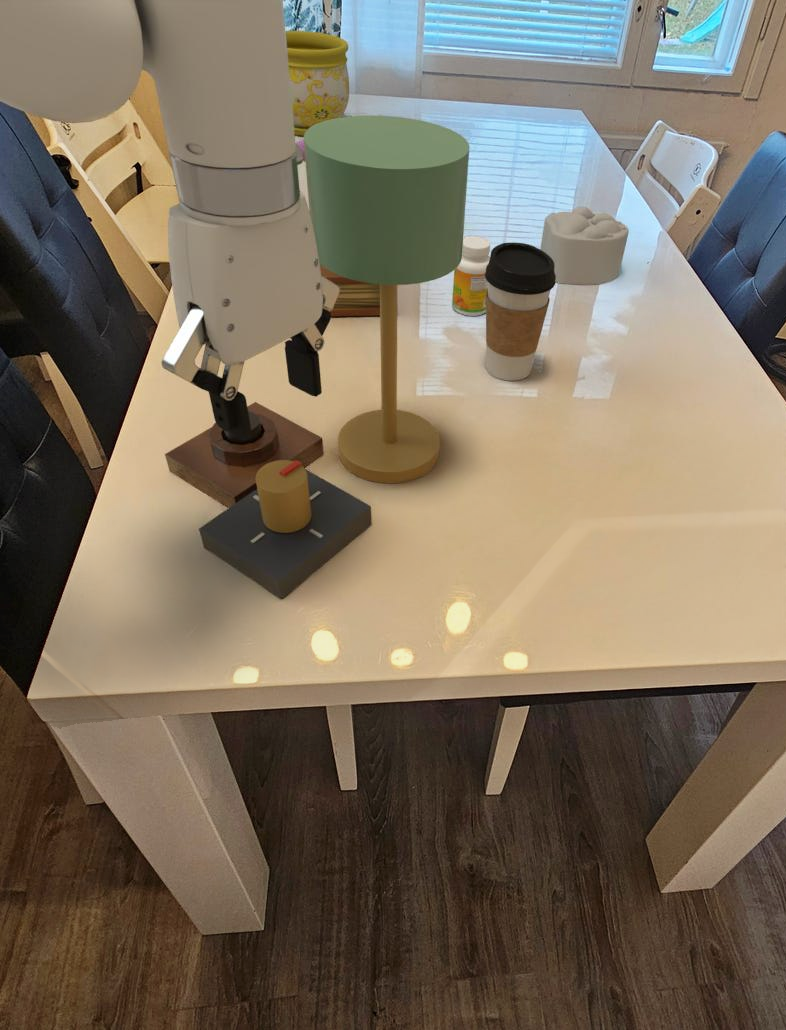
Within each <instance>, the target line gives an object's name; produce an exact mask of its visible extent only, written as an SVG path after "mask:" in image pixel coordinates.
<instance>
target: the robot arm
mask: <svg viewBox="0 0 786 1030" xmlns="http://www.w3.org/2000/svg"><path fill="white" fill-rule="evenodd" d="M286 31H287V30H286V21H285V9H284V0H0V102H1V103H3V104H5V105H7V106H8V107H9V106H10V107H12V108H14V109H17V110H19V111H22V112H24V113H25V114H29V115H32V116H36V117H39V118H41V119H46V120H50V121H53V122H61V123H67V124H84V123H91V122H96V121H98V120H102V119H106V118H108V117H109V116H110V115H112V114H114V113H116V112H117V111H119V110H120V109H121V108H122V107H123V106H125V105H126V103H127V102H128V101H129V100H130V99H131V97H132V96H133V94H134V92H135V91H136V89H137V87H138V84H139V81H140V79H141V75H142V71H144V72H146V73H148V74H149V75H150V76H151V78H152V80H153V82H154V86H155V91H156V96H157V101H158V105H159V110H160V114H161V120H162V124H163V129H164V134H165V139H166V140H165V141H166V144H167V150H168V155H169V159H170V163H171V169H172V174H173V179H174V184H175V188H176V191H177V192H176V194H177V197H178V204H175V205H173V206H171V207H169V209H168V221H167V223H168V225H167V231H168V232H167V236H168V237H167V239H168V240H167V241H168V242H167V243H168V244H167V245H168V259H169V261H168V262H169V271H170V279H171V280H170V281H171V286H172V287H171V288H172V292H173V301H174V306H175V312H176V313H175V314H176V317H177V323H178V326H179V329H178V331H177V333H176V335H175V337H174V338H173V340H172V341H171V344H170V345H169V347H168V348H167V351H166V353H165V354H164V356H163V358H162V360H161V367H162V368H163V369H164V370H166V371H168V372H170V373H171V374H173V375H175V376H176V377H179V378H180V379H182V380H184V381H186V382H188V383H190V384H192V385H193V386H195V387H197V388H199V389H201V390H203V391H206V392H208V394H209V400H210V404H211V409H212V414H213V420H214V421H215V422H214V423H217V425H218V426H219V427H220V428H221V429H223V430H225V431H228V432H230V433H232V434H233V435H235V436H237V437H239V438H241V439H242V440H247V439H248V438H250V437H251V434H252V431H251V425H250V419H249V414H248V408H247V406H248V404H247V398H246V396H245V395H244V394H243V393H242V392H240V391H239V386H240V383H241V382H240V381H241V378H242V373H243V369H244V364H245V361H248V360H250V359H252V358H254V357H256V356H258V355H260V354H262V353H264V352H266V351H267V350H269V349H270V350H271V348H273V347H275V346H277V345H280V344H281V343H283V342H284V354H285V361H286V370H287V378H288V383H289V385H290V386H292V387H293V388H296V389H298V390H299V391H302V392H303V393H305V394H307V395H309V396H311V397H314V398H315V397H319V396H320V395H321V394H322V392H323V389H322V380H321V379H322V378H321V367H320V365H321V364H320V354H319V352H321V350H322V349H323V348H324V346H325V338H324V337H323V336H324V333H325V331H326V330H327V328H328V326H329V323H330V322H331V319H332V316H331V313H330V310H332V309H333V307H334V305H335V302H336V300H337V298H338V295H339V293H340V288H339V286H338V285H336V284H335V283H333V282H332V281H330V280H328V279H327V278H325V277H324V276H322V275H321V270H320V262H319V255H318V249H317V244H316V238H315V234H314V229H313V224H312V220H311V217H310V213H309V204H308V203H307V199H306V196H305V194H304V192H302V190H300V179H299V169H298V166H299V165H301V164H302V163H303V162H304V161H303V152H302V150H301V148H300V147H299V146H298V145H297V144H295V143H296V135H295V134H294V121H293V110H292V99H291V87H290V76H289V65H288V54H287V43H286ZM203 346H204V350H203V355H202V360H201V365H200V367H199V366H198V365H196V358H197V357H198V355H199V353H200V351H201V349H202V348H203ZM221 363H222V364H224V367H223V371H222V376H219V372H220V371H219V370H220V367H221Z"/></svg>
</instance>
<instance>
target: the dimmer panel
mask: <svg viewBox="0 0 786 1030" xmlns="http://www.w3.org/2000/svg"><path fill="white" fill-rule="evenodd" d="M305 470H306V472H307V478H308V487H309V496H310V505H311V513H312V515H311V519H310V521H309V523H308V524H307V525H306V526H305V527H304V528H302V529H300V530H298V531H295V532H291V533H279V532H275V531H272V530H270V529H269V528H267V527H266V525H265V524H264V522H263V518H262V513H261V507H260V502H259V496H258V490H257V489H256V490H255V491H253V492H252V493H250V494H249V495H247V496H246V497H244V498H243V499H241V500H240V501H239V502H237V503H236V504H234V505H233V506H231V507H230V508H228V507H227V508H226V509H225V510H223V512H221V513H220V514H218V515H217V516H215V517H214V518H212V519H210V520H209V521H207V522H206V523H205V524H203V525H202V526H200V527H199V528H198V531H199V535H200V538H201V542H202V546H203V548H204V549H206V550H207V551H208V552H210V553H211V554H213V555H215V556H216V557H217V558H219V559H221V560H222V561H224V563H227V564H228V565H229V566H231V567H232V568H234V569H236V570H237V571H238V572H240V573H242V574H243V575H245V576H246V577H247V578H248V579H250V580H252V581H253V582H255V583H256V584H258V585H259V586H261V587H262V588H264V589H265V590H267V591H269V592H270V593H272V594H273V595H274V596H276V597H278V598H279V599H281V600H283V599H285V597H286V596H287V595H289V594H290V593H291V592H293V591H294V590H296V588H297V587H298V586H300V585H301V584H302V583H303V582H305V581H306V580H307V579H308V578H309V577H311V576H312V575H313V574H314V573H315V572H316V571H317V570H319V569H320V568H321V567H322V566H324V565H325V564H326V563H327V562H328V561H330V560H331V559H332V558H333V557H335V556H336V555H337V554H338V553H339V552H340V551H342V550H343V549H345V547H347V545H349V544H350V543H351V542H352V541H353V540H355V539H356V538H357V537H358V536H360V535H361V534H362V533H363V532H364V531H366V530H367V529H368V528H369V527H370V526H372V506H371V504H368V503H366V502H364V501H363V500H361V499H360V498H358V497H356V496H354V495H352V494H350V493H349V492H347V491H345V490H343V489H342V488H340V487H338V486H336V485H335V484H333V483H331V482H330V481H328V480H325V479H324V478H322V477H321V476H319V475H317V474H315V473H313V472H311V471H310V470H308V469H306V468H305Z"/></svg>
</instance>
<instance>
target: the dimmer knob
mask: <svg viewBox="0 0 786 1030" xmlns="http://www.w3.org/2000/svg"><path fill="white" fill-rule="evenodd" d="M305 469H306V467H303V466H302V465H301V462H299V461H297V460H296V461H289V460H279V461H274V462H270V463H268V464H266V465H264V466H263V467H261V468H260V469H259V471H258V472H257V474H256V485H257V490H258V496H259V502H260V507H261V513H262V518H263V522H264V524H265V525H266V527H267V528H269V529H270V530H272V531H275V532H279V533H291V532H295V531H298V530H300V529H302V528H304V527H305V526H306V525H307V524H308V523H309V521H310V519H311V515H312V513H311V505H310V496H309V487H308V478H307V472H306V470H307V469H306V470H305Z"/></svg>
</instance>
